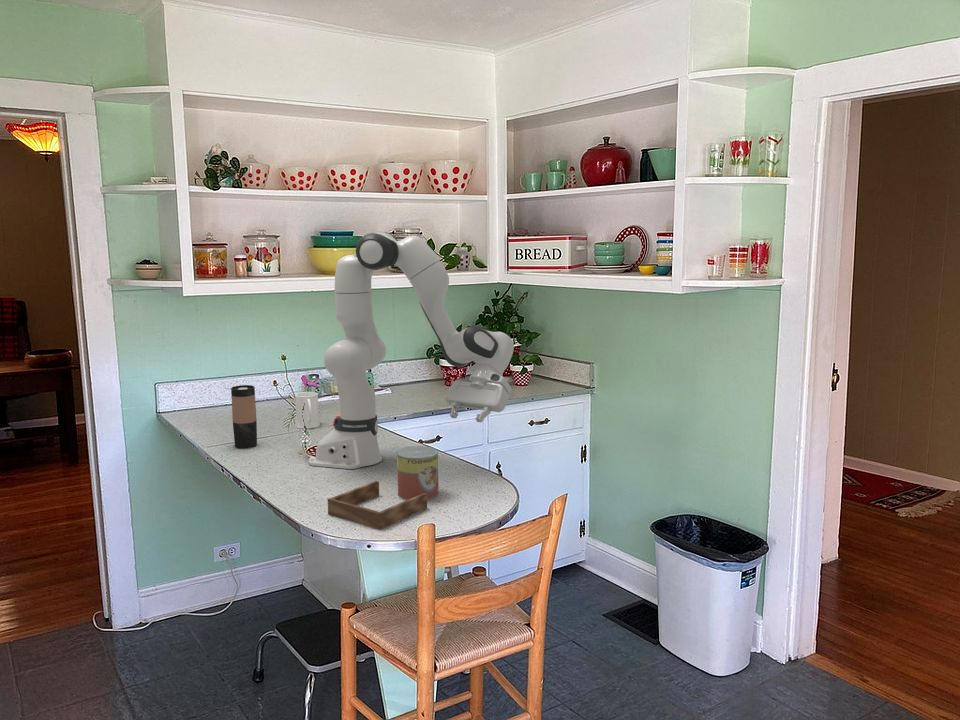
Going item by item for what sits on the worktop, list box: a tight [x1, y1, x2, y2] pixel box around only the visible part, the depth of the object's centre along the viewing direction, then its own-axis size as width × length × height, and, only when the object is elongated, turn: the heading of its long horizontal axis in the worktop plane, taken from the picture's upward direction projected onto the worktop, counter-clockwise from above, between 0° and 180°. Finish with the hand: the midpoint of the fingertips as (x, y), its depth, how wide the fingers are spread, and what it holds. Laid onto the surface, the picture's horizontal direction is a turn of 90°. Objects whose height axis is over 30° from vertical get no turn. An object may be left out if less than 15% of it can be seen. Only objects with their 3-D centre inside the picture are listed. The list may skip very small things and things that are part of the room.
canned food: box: [396, 445, 440, 501], centre depth 220 cm, size 11×11×12 cm
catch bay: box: [327, 480, 428, 530], centre depth 207 cm, size 18×18×4 cm
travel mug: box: [230, 384, 258, 450], centre depth 267 cm, size 8×8×20 cm
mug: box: [294, 391, 321, 430], centre depth 292 cm, size 12×8×12 cm
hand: (465, 419), depth 235 cm, fingers open, 8 cm apart
